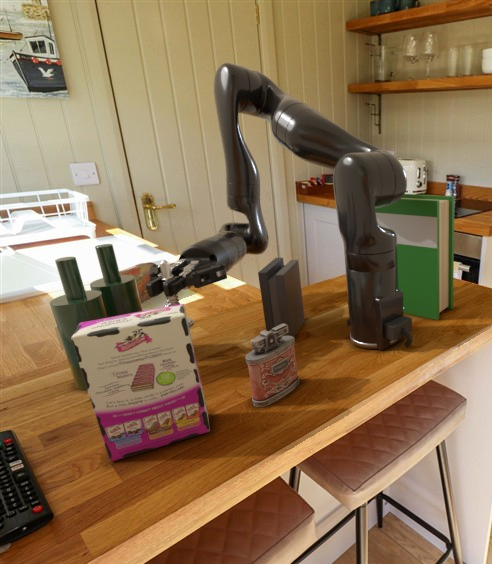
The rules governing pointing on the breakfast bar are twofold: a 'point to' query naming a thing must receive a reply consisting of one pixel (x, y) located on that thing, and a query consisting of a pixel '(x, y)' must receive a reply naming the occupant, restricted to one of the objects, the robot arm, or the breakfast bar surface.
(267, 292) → the dark grey grooved block
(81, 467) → the breakfast bar surface
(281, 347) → the lighter
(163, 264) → the screw
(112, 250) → the wine bottles
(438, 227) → the hardback book
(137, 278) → the tin
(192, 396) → the candy bar box
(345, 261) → the robot arm
